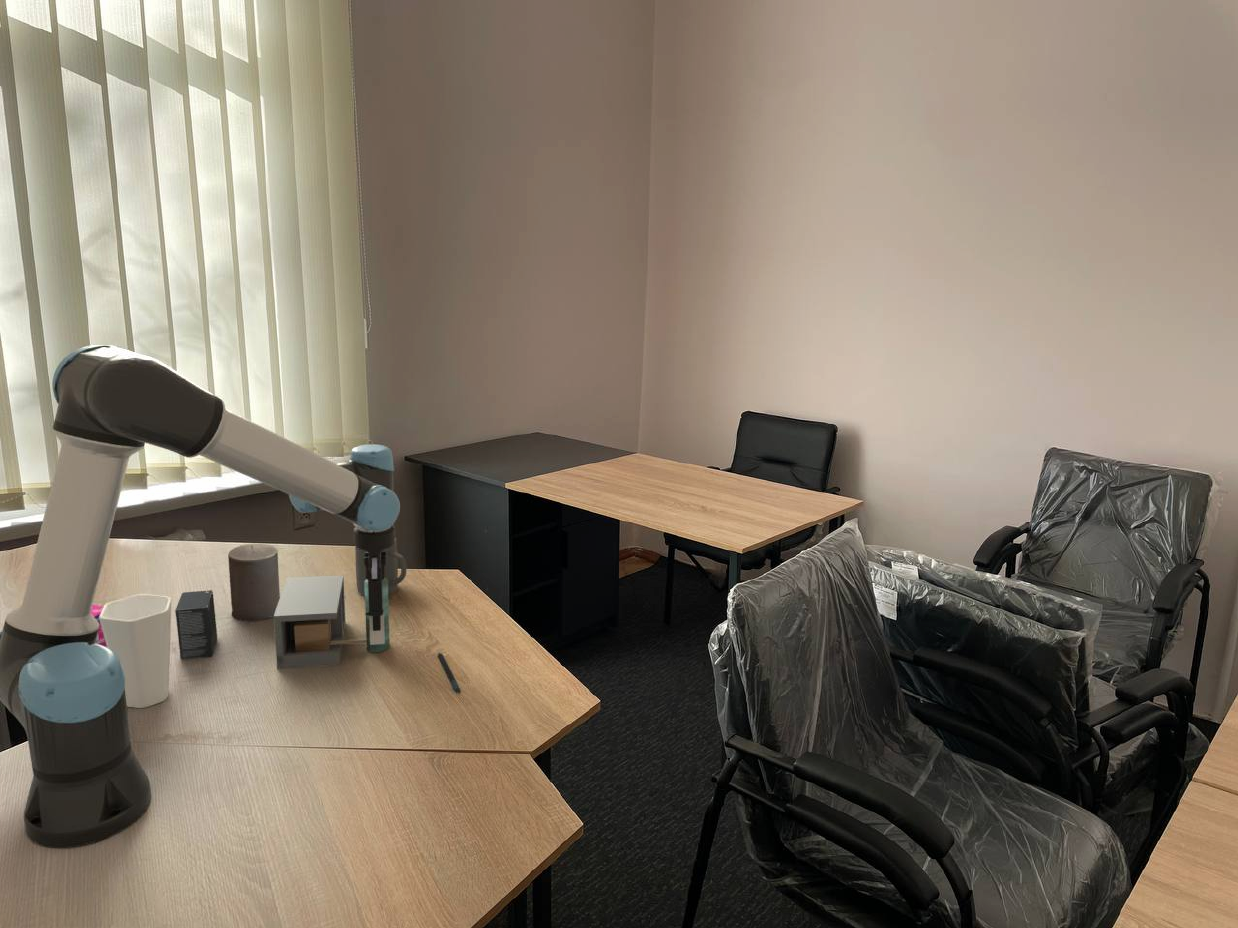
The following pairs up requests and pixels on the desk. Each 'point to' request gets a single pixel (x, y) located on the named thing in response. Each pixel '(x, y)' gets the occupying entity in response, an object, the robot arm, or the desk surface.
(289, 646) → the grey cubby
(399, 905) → the desk surface
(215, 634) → the box
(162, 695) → the cup
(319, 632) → the tethered cylinder
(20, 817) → the desk surface
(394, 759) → the desk surface
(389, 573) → the mug
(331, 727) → the desk surface
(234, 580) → the pillar candle
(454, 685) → the pen
